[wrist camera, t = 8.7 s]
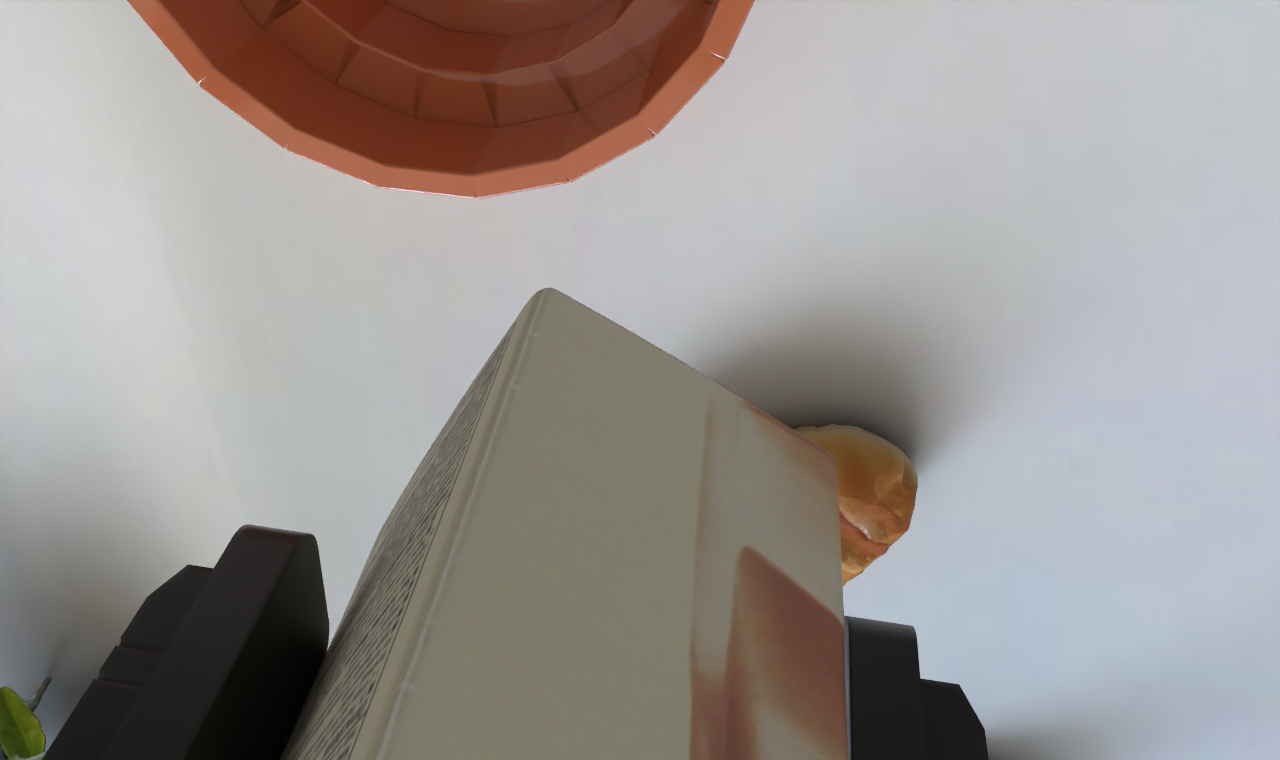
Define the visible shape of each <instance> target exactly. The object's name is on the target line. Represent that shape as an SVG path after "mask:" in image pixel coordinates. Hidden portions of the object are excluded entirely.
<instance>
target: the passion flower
mask: <svg viewBox="0 0 1280 760" xmlns="http://www.w3.org/2000/svg"><path fill="white" fill-rule="evenodd" d="M51 679H52V678H46V679H45V681H44V682H43V684H42V686H41V687H40V688H39V690H38V691H37V692H36V693H35V694H34V695H33V696H32V697H31V699H30V700H29V701H28V702H27V704H26V702H25V701H24V700H23V699H22V698H20V697H19V696H18V695H17V694H16V693H15V692H14V691H13V690H12V689H10V688H8V687H2V688H1V689H0V760H42V759H43V757H44V756H45V754H46V753H47V751H48V750H47V751H45V752H44V749H45V744H46V738H45V735H44V733H43V731H42V730H41V723H40V720H39V718H37V717H36V716H35V714H34V713H33V711H34V710H35V709H36V707H37V705H38V704H39V702H40V700H41V698H42V694H43V693H44V692H45V690H46V689H47V687H48V685H49V683H50V682H51Z"/></svg>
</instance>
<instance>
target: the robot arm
mask: <svg viewBox="0 0 1280 760" xmlns="http://www.w3.org/2000/svg"><path fill="white" fill-rule="evenodd" d="M328 640H329V619H328V612H327V605H326V598H325V592H324V585H323V578H322V571H321V564H320V557H319V551H318V545H317V541H316V538H315V537H314V536H313V535H312V534H309V533H302V532H295V531H288V530H282V529H275V528H268V527H262V526H255V525H244V526H242V527H241V528H240V529H239V530H238V531H237V532H236V533H235V534H234V536H233V537H232V539H231V541H230V542H229V544H228V546H227V547H226V549H225V551H224V552H223V554H222V556H221V557H220V559H219V561H218V562H217V564H216V566H215V567H214V569H213V568H207V567H200V566H194V565H187V566H186V567H184V568H183V569H182V570H181V571H179V572H178V573H177V574H176V575H174V576H173V577H172V578H171V579H169V580H168V581H167V582H166V583H164V584H163V585H162V586H161V587H159V588H158V589H157V590H155V591H154V592H153V593H152V594H150V595H149V596H148V597H147V598H146V600H145V601H144V603H143V604H142V606H141V607H140V609H139V610H138V612H137V613H136V615H135V617H134V618H133V620H132V621H131V623H130V624H129V626H128V627H127V629H126V630H125V632H124V634H123V635H122V637H121V643H120V645H119V646H115V647H114V649H113V651H112V652H111V654H110V655H109V657H108V658H107V660H106V661H105V663H104V664H103V666H102V668H101V669H100V675H99V677H98V679H94V680H93V681H92V683H91V685H90V686H89V688H88V689H87V691H86V692H85V694H84V695H83V697H82V698H81V700H80V702H79V703H78V705H77V706H76V708H75V709H74V711H73V712H72V714H71V715H70V717H69V719H68V720H67V722H66V723H65V725H64V726H63V728H62V729H61V731H60V732H59V734H58V736H57V737H56V739H55V740H54V742H53V743H52V745H51V746H50V748H49V749H48V751H47V753H46V754H45V756H44V757H43V759H42V760H280V758H281V756H282V754H283V751H284V749H285V747H286V745H287V742H288V740H289V738H290V735H291V733H292V731H293V729H294V726H295V724H296V722H297V720H298V717H299V715H300V713H301V710H302V708H303V706H304V704H305V701H306V699H307V697H308V694H309V692H310V690H311V688H312V685H313V683H314V681H315V678H316V676H317V674H318V672H319V669H320V667H321V665H322V662H323V660H324V658H325V656H326V653H327V647H328ZM844 641H845V688H846V715H847V737H848V760H988V752H987V745H986V737H985V729H984V728H983V726H982V724H981V722H980V721H979V719H978V717H977V715H976V714H975V712H974V710H973V708H972V706H971V705H970V703H969V701H968V699H967V698H966V696H965V694H964V692H963V691H962V689H961V687H960V685H959V684H952V683H946V682H939V681H933V680H926V679H920V671H919V659H918V646H917V637H916V632H915V629H914V627H913V626H909V625H903V624H896V623H889V622H883V621H876V620H870V619H863V618H856V617H850V616H844Z"/></svg>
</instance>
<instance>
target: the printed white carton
mask: <svg viewBox="0 0 1280 760" xmlns="http://www.w3.org/2000/svg"><path fill="white" fill-rule="evenodd" d="M280 760H848V737H847V715H846V688H845V641H844V608H843V590H842V557H841V534H840V517H839V497H838V470H837V462H836V459H835V458H834V457H833V456H832V455H831V454H830V453H829V452H828V451H826V450H825V449H823V448H822V447H820V446H819V445H817V444H816V443H814V442H813V441H811V440H809V439H808V438H806V437H804V436H803V435H801V434H800V433H798V432H796V431H795V430H793V429H791V428H790V427H788V426H787V425H785V424H784V423H782V422H780V421H779V420H777V419H776V418H774V417H772V416H771V415H769V414H768V413H766V412H765V411H763V410H761V409H760V408H758V407H756V406H755V405H753V404H752V403H750V402H748V401H747V400H745V399H743V398H742V397H740V396H738V395H737V394H735V393H733V392H732V391H730V390H728V389H727V388H725V387H723V386H722V385H720V384H718V383H717V382H715V381H714V380H712V379H710V378H708V377H707V376H705V375H703V374H701V373H699V372H698V371H696V370H695V369H693V368H692V367H690V366H689V365H687V364H685V363H684V362H682V361H680V360H678V359H677V358H675V357H673V356H672V355H670V354H668V353H666V352H665V351H663V350H661V349H660V348H658V347H656V346H655V345H653V344H651V343H649V342H648V341H646V340H644V339H643V338H641V337H639V336H638V335H636V334H634V333H632V332H631V331H629V330H627V329H626V328H624V327H622V326H620V325H619V324H617V323H615V322H613V321H611V320H610V319H608V318H606V317H604V316H602V315H601V314H599V313H597V312H595V311H593V310H592V309H590V308H588V307H586V306H584V305H583V304H581V303H579V302H577V301H576V300H574V299H572V298H571V297H569V296H567V295H565V294H564V293H562V292H560V291H558V290H556V289H553V288H545V289H542V290H540V291H538V292H537V293H536V294H534V295H533V296H532V297H531V299H530V300H529V301H528V303H527V304H526V305H525V307H524V308H523V310H522V311H521V313H520V314H519V315H518V317H517V318H516V320H515V321H514V323H513V324H512V326H511V327H510V329H509V330H508V331H507V333H506V334H505V336H504V337H503V339H502V340H501V342H500V343H499V345H498V346H497V348H496V349H495V350H494V352H493V353H492V354H491V356H490V357H489V359H488V360H487V362H486V363H485V365H484V366H483V368H482V369H481V371H480V372H479V373H478V375H477V376H476V378H475V379H474V381H473V382H472V384H471V385H470V387H469V389H468V390H467V392H466V393H465V395H464V396H463V398H462V399H461V401H460V402H459V404H458V405H457V407H456V408H455V410H454V411H453V413H452V415H451V416H450V418H449V419H448V421H447V423H446V424H445V426H444V427H443V429H442V430H441V432H440V433H439V435H438V437H437V438H436V440H435V441H434V443H433V444H432V446H431V447H430V449H429V450H428V452H427V454H426V455H425V457H424V459H423V460H422V462H421V463H420V465H419V467H418V468H417V470H416V472H415V473H414V475H413V476H412V478H411V480H410V481H409V483H408V485H407V486H406V488H405V490H404V491H403V493H402V495H401V496H400V498H399V500H398V501H397V503H396V505H395V506H394V508H393V510H392V512H391V513H390V515H389V517H388V518H387V520H386V522H385V523H384V525H383V527H382V529H381V531H380V533H379V535H378V537H377V539H376V541H375V543H374V545H373V548H372V550H371V552H370V555H369V557H368V559H367V561H366V564H365V566H364V568H363V571H362V573H361V576H360V578H359V580H358V583H357V585H356V588H355V590H354V592H353V595H352V597H351V599H350V601H349V604H348V606H347V608H346V611H345V613H344V615H343V618H342V620H341V622H340V624H339V626H338V629H337V631H336V633H335V635H334V637H333V640H332V642H331V644H330V646H329V648H328V651H327V653H326V656H325V658H324V660H323V662H322V665H321V667H320V669H319V672H318V674H317V676H316V678H315V681H314V683H313V685H312V688H311V690H310V692H309V694H308V697H307V699H306V701H305V704H304V706H303V708H302V710H301V713H300V715H299V717H298V720H297V722H296V724H295V726H294V729H293V731H292V733H291V735H290V738H289V740H288V742H287V745H286V747H285V749H284V751H283V754H282V756H281V758H280Z"/></svg>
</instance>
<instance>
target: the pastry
mask: <svg viewBox="0 0 1280 760" xmlns="http://www.w3.org/2000/svg"><path fill="white" fill-rule="evenodd" d="M793 430H795V431H796V432H798V433H800V434H801V435H803V436H804V437H806V438H808V439H809V440H811V441H813V442H814V443H816V444H817V445H819V446H820V447H822V448H823V449H825V450H826V451H828V452H829V453H830V454H831V455H832V456H833V457H834V458H835V459H836V462H837V470H838V497H839V517H840V534H841V557H842V587H843V586H844V585H845V584H846V582H847V581H849V580H851V579H853V578H854V577H856V576H858V575H859V574H861V573H862V572H863V571H864V569H865V568H866V567H868V566H869V565H870V564H871V563H872V562H873V561H874V560H875V559H877V558H878V557H880V556H881V555H883V554H885V553H886V552H887V550H888V548H889V547H890V546H891V545H892V544H893V543H894V542H895V541H897V540H898V539H899V538H900V537H901V536H902V535H903V534H904V533H905V532H906V531H907V530H908V529H909V526H910V522H911V517H912V514H913V510H914V506H915V497H916V491H917V488H918V484H917V473H916V471H915V469H914V468H913V466H912V463H911V461H910V460H909V459H908V457H907V456H906V455H905V454H904V453H903V452H902V451H901V450H900V449H899V448H898V447H896V446H895V445H893V444H892V443H890V442H888V441H887V440H885V439H883V438H881V437H879V436H877V435H875V434H873V433H871V432H869V431H867V430H865V429H862V428H860V427H856V426H848V425H835V424H834V423H831V424H830V425H826V426H822V427H815V426H812V425H803V426H799V427H798V428H796V429H793Z"/></svg>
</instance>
